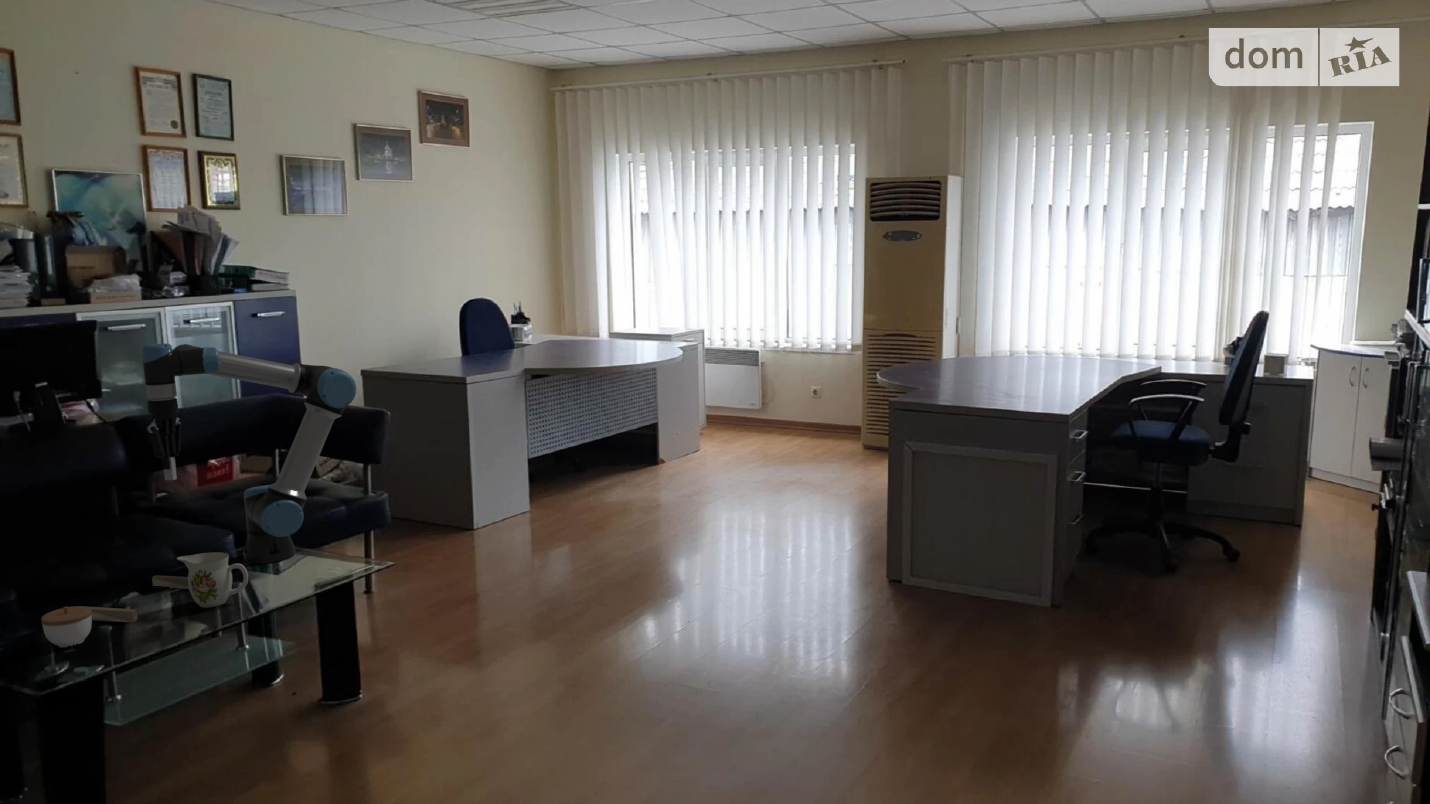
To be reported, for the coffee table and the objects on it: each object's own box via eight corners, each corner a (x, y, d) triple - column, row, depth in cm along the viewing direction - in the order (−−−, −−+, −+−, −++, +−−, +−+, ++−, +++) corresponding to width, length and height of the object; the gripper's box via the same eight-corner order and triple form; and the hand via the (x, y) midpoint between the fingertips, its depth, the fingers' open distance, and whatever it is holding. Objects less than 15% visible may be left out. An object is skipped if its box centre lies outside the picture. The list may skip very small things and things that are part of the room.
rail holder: (157, 585, 298) (155, 575, 298) (202, 587, 296) (201, 577, 295) (84, 619, 272) (82, 608, 271) (133, 622, 269) (131, 611, 269)
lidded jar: (40, 654, 249) (36, 618, 248) (49, 638, 259) (44, 603, 258) (91, 646, 254) (86, 611, 252) (97, 631, 263) (93, 597, 262)
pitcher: (244, 608, 278) (239, 560, 276) (174, 612, 276) (169, 564, 274) (256, 594, 289) (251, 547, 287) (189, 598, 287) (184, 551, 284)
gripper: (166, 394, 294) (175, 473, 298) (133, 402, 281) (142, 484, 285) (189, 395, 292) (197, 474, 296) (157, 402, 280) (166, 485, 284)
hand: (170, 479), depth 291 cm, fingers closed
